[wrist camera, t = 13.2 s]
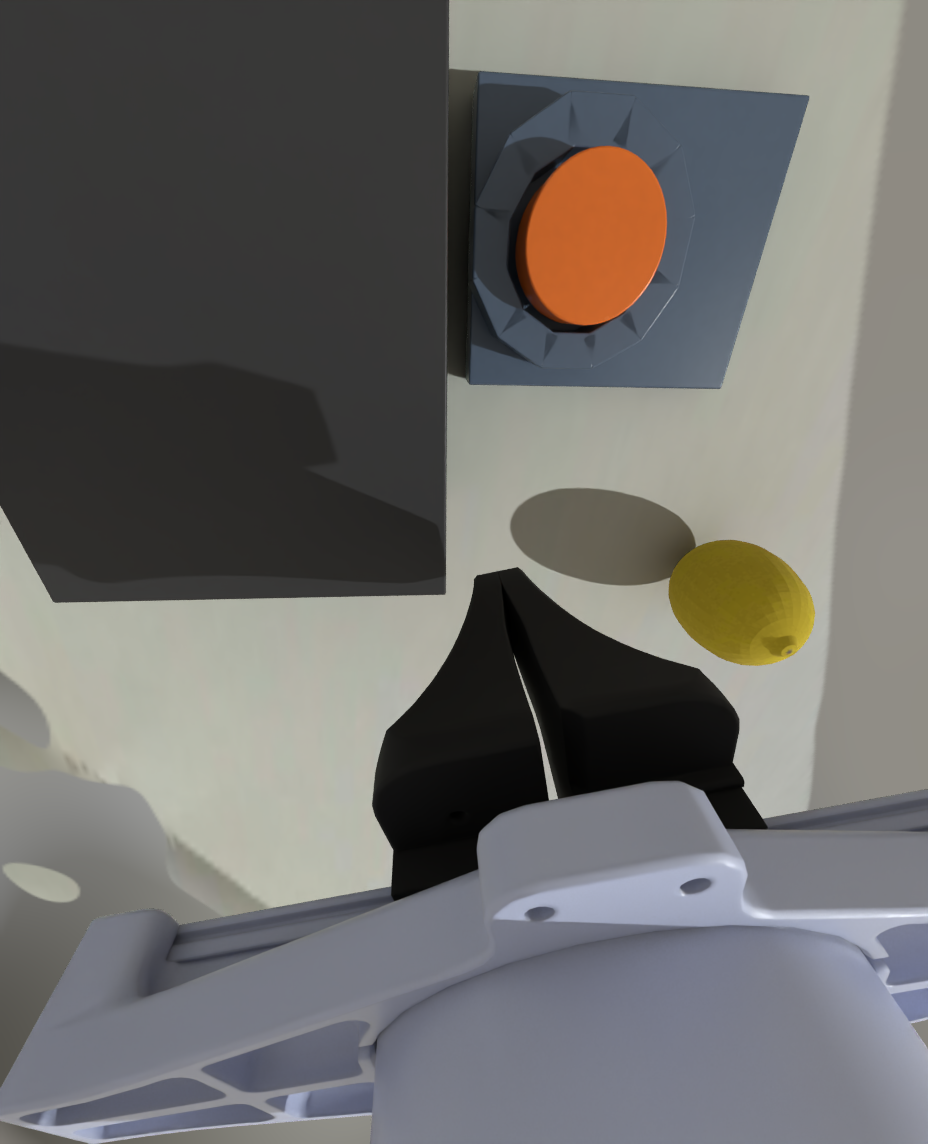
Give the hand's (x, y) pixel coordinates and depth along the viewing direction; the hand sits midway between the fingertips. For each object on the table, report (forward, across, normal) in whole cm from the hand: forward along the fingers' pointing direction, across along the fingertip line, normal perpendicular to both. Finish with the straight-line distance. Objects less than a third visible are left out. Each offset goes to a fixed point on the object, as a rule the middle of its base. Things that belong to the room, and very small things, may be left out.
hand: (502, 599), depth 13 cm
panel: (+10, -7, -8) cm, 15 cm away
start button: (+7, -5, -8) cm, 12 cm away
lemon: (+11, -12, +7) cm, 18 cm away
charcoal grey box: (+10, +6, -8) cm, 14 cm away
